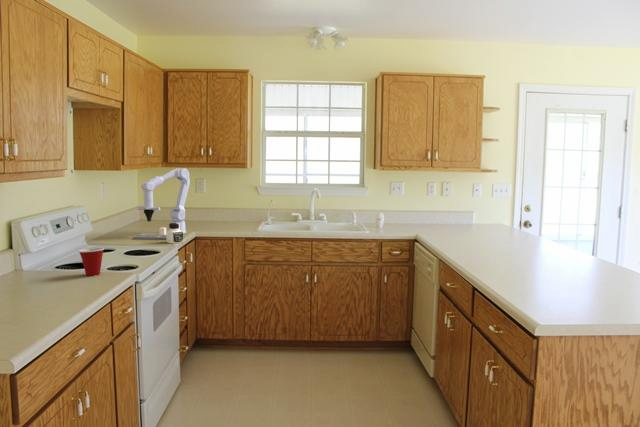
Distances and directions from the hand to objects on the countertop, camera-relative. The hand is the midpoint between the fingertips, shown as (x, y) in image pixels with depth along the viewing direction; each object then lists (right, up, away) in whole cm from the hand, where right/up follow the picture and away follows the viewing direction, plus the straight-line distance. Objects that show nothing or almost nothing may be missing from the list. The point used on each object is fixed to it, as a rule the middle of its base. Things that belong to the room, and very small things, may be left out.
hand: (149, 221), depth 330 cm
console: (+4, -11, -1) cm, 11 cm away
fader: (+10, -9, -2) cm, 13 cm away
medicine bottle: (+21, -13, -17) cm, 30 cm away
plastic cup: (+7, -23, -98) cm, 101 cm away
